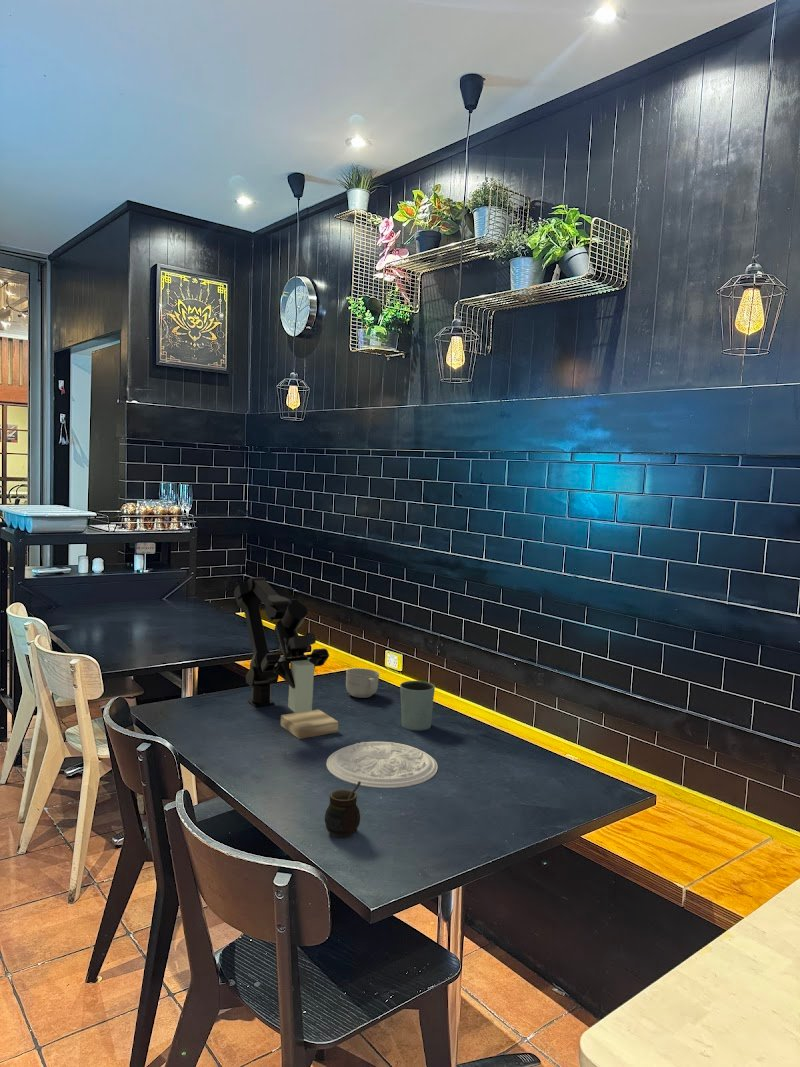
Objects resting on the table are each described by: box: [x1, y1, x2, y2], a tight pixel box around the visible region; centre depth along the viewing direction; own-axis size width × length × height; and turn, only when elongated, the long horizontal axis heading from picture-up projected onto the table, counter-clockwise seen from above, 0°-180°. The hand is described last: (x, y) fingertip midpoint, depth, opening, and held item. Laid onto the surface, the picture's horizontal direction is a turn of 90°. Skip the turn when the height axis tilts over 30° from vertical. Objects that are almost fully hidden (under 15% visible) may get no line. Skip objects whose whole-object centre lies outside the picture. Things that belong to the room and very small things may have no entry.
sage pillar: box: [287, 660, 315, 713], centre depth 210 cm, size 5×5×13 cm
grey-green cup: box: [399, 680, 436, 732], centre depth 221 cm, size 10×10×12 cm
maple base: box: [280, 708, 339, 740], centre depth 214 cm, size 12×12×3 cm
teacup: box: [345, 667, 380, 699], centre depth 246 cm, size 14×11×8 cm
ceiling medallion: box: [326, 741, 439, 789], centre depth 191 cm, size 28×28×3 cm
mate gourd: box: [324, 781, 361, 838], centre depth 155 cm, size 7×8×10 cm
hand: (303, 686), depth 209 cm, fingers closed on sage pillar, 5 cm apart
